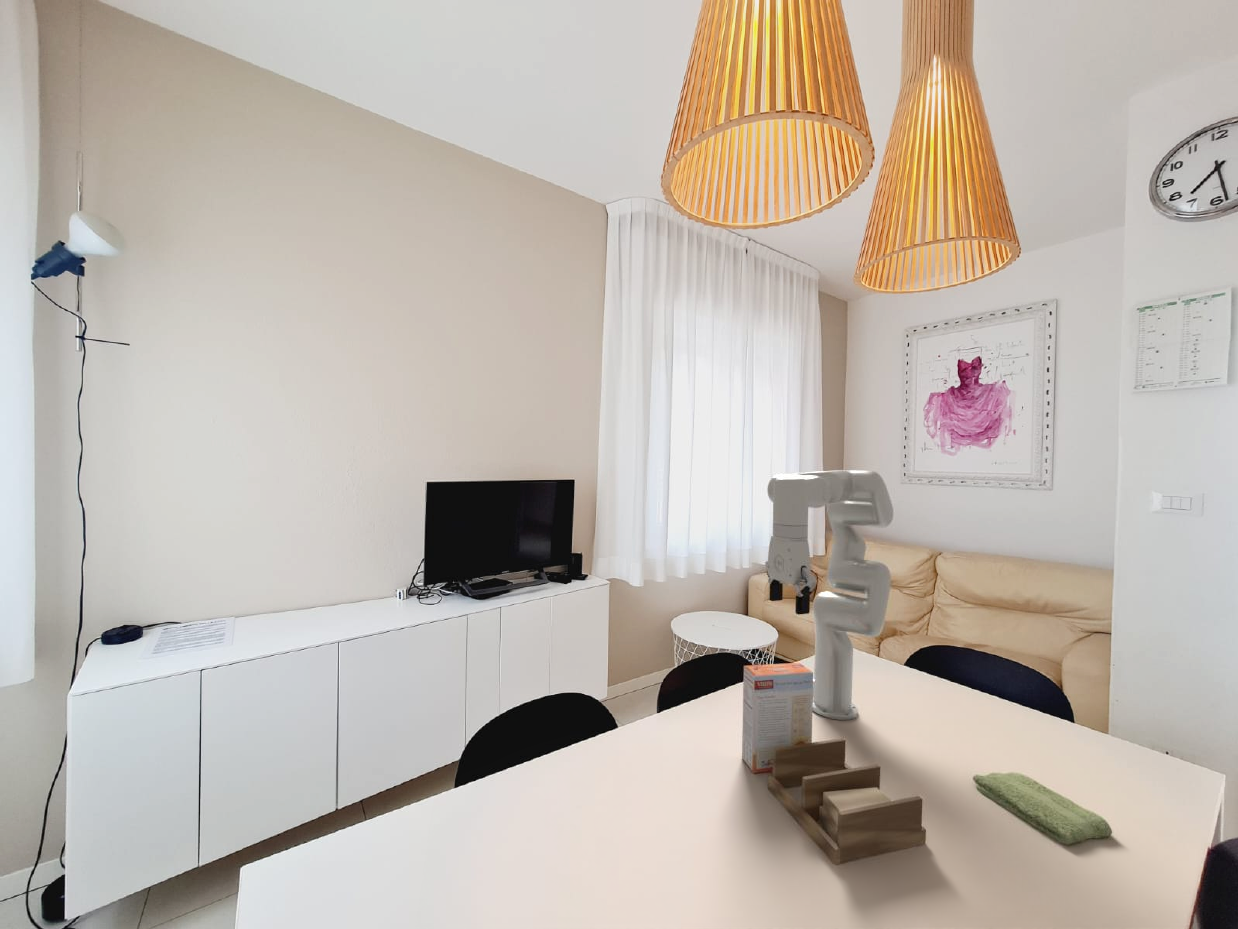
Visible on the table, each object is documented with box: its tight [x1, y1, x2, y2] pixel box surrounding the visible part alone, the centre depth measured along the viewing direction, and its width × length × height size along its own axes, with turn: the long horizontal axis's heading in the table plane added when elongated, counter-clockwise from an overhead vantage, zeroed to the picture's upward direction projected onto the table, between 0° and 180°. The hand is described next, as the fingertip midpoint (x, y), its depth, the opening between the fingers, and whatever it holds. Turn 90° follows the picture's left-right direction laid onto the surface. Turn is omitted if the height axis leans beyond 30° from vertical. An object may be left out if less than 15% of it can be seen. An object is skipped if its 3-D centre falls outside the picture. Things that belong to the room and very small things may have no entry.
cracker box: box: [741, 662, 814, 774], centre depth 106 cm, size 14×6×21 cm, turn 101°
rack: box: [767, 737, 927, 866], centre depth 91 cm, size 19×19×8 cm
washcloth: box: [972, 771, 1113, 846], centre depth 94 cm, size 13×18×3 cm
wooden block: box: [818, 787, 892, 844], centre depth 86 cm, size 6×12×6 cm, turn 95°
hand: (788, 606), depth 109 cm, fingers open, 9 cm apart
